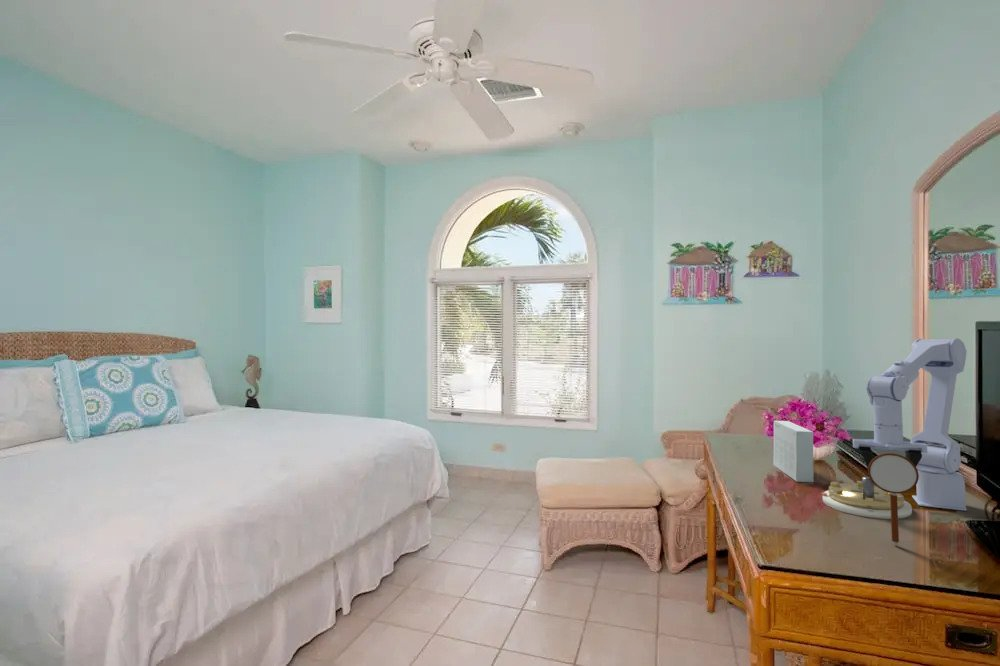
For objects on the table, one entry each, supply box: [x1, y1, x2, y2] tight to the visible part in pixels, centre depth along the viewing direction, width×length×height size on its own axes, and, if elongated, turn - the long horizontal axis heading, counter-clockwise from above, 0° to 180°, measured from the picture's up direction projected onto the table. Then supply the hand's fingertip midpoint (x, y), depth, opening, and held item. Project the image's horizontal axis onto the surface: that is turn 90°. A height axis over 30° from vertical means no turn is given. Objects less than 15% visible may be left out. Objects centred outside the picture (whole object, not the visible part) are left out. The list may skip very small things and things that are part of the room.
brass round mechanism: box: [828, 476, 905, 510], centre depth 130 cm, size 16×16×7 cm
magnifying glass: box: [867, 452, 919, 547], centre depth 106 cm, size 9×2×20 cm, turn 57°
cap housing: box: [821, 489, 913, 520], centre depth 130 cm, size 19×19×2 cm
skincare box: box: [772, 420, 814, 483], centre depth 162 cm, size 21×6×16 cm, turn 168°
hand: (890, 478), depth 122 cm, fingers open, 7 cm apart
